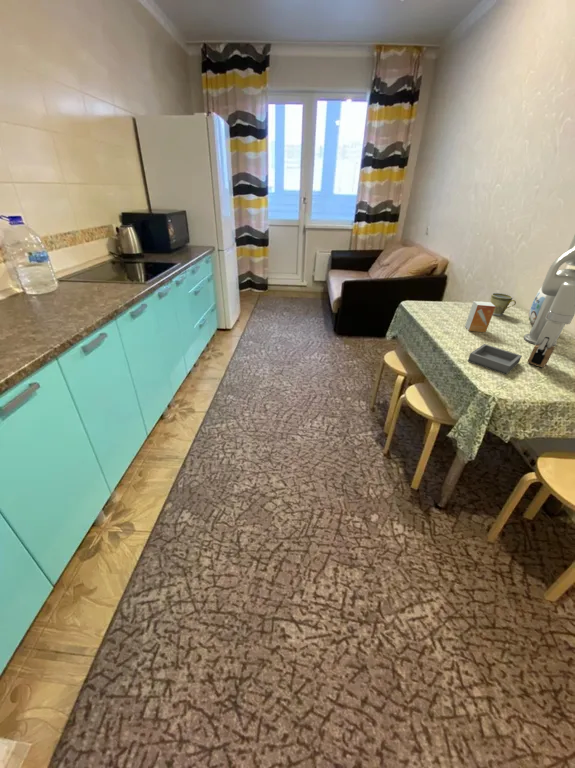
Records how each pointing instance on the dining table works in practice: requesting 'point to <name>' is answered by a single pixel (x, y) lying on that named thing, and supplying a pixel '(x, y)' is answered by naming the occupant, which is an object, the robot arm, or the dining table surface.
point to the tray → (494, 358)
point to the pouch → (536, 306)
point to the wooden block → (546, 358)
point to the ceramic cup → (501, 302)
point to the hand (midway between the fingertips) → (538, 360)
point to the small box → (479, 316)
